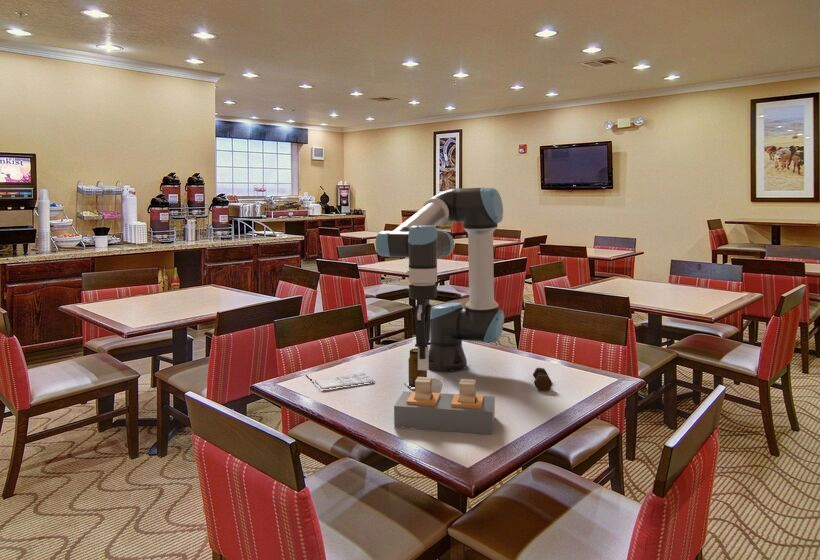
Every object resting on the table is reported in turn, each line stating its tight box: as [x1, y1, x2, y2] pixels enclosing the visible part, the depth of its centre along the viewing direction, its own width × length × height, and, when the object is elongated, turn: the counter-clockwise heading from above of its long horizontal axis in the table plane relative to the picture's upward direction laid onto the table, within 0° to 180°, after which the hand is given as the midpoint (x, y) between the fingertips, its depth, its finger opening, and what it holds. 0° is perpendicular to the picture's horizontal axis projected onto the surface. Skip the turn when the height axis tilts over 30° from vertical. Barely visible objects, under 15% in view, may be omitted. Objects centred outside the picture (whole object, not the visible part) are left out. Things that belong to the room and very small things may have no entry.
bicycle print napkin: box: [314, 371, 376, 389], centre depth 190 cm, size 19×20×2 cm
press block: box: [393, 390, 496, 435], centre depth 151 cm, size 12×26×7 cm, turn 79°
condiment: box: [408, 347, 428, 391], centre depth 181 cm, size 7×8×12 cm
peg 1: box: [414, 376, 433, 400], centre depth 151 cm, size 4×4×7 cm
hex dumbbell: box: [532, 367, 553, 392], centre depth 183 cm, size 6×5×15 cm
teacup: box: [432, 377, 448, 394], centre depth 173 cm, size 10×10×5 cm
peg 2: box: [458, 378, 477, 403], centre depth 149 cm, size 4×4×7 cm
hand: (423, 369), depth 150 cm, fingers closed
